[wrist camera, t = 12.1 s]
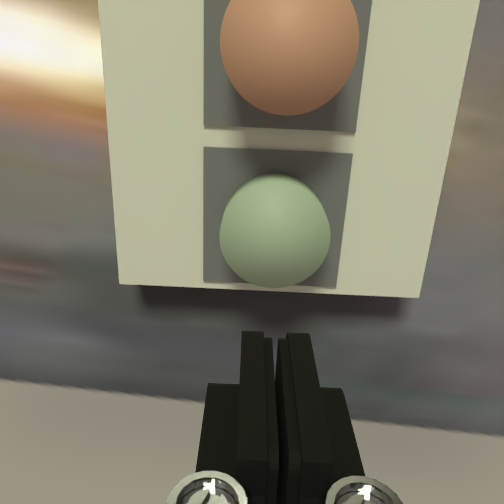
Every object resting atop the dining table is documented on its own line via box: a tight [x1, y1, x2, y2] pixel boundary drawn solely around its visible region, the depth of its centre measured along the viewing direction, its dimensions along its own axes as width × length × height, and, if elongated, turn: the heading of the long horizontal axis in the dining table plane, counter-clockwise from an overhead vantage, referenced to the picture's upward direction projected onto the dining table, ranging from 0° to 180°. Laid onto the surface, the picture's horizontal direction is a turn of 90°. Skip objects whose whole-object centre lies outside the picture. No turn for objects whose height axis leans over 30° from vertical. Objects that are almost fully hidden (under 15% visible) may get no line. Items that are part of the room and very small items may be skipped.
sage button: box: [219, 173, 331, 288], centre depth 22 cm, size 5×5×2 cm
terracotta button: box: [220, 0, 359, 116], centre depth 18 cm, size 5×5×2 cm
